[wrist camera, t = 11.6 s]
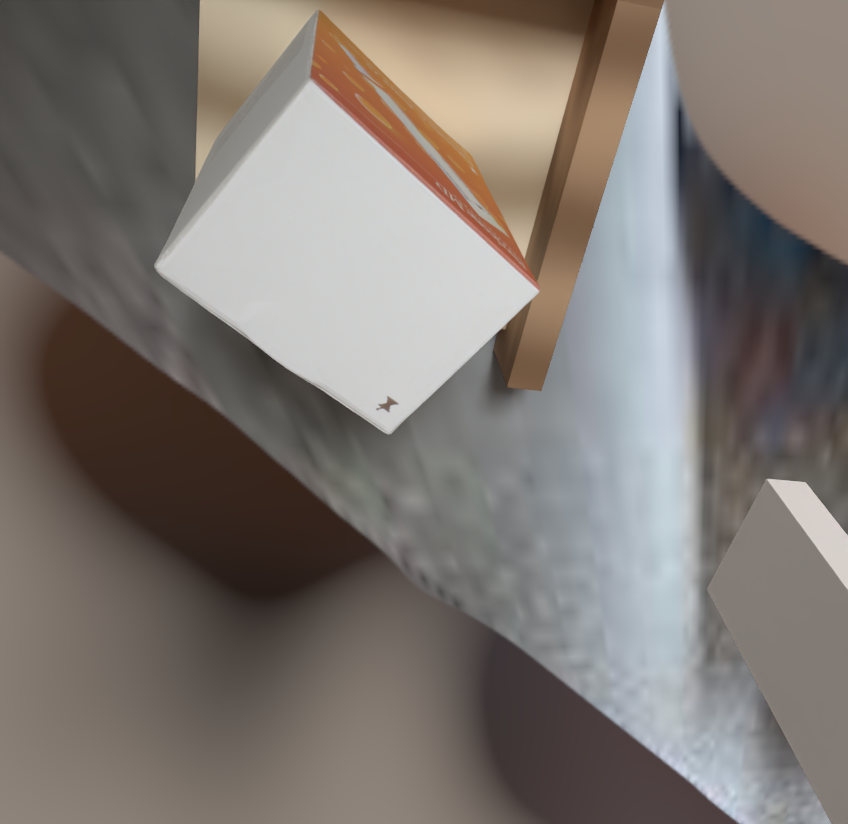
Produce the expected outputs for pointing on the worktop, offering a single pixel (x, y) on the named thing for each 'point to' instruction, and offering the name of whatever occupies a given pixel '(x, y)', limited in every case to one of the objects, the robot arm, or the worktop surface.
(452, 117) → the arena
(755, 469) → the worktop surface
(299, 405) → the worktop surface
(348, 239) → the small box
